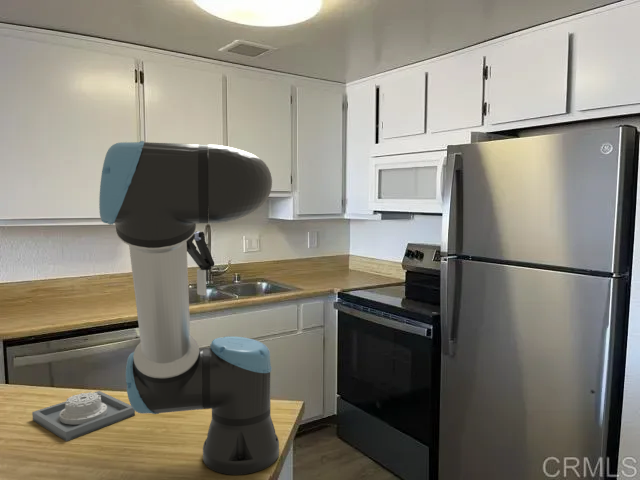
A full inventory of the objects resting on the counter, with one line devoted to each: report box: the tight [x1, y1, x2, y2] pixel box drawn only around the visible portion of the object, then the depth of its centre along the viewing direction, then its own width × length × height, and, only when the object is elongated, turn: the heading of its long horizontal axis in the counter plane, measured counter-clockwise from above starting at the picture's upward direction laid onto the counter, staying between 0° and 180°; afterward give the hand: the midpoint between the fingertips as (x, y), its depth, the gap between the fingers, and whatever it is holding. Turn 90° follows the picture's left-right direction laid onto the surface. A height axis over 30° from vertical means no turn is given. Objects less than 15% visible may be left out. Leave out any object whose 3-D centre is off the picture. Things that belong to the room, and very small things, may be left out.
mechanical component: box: [60, 391, 107, 425], centre depth 113 cm, size 10×4×10 cm
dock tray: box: [32, 390, 136, 442], centre depth 113 cm, size 16×16×2 cm
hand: (179, 298), depth 120 cm, fingers open, 13 cm apart
